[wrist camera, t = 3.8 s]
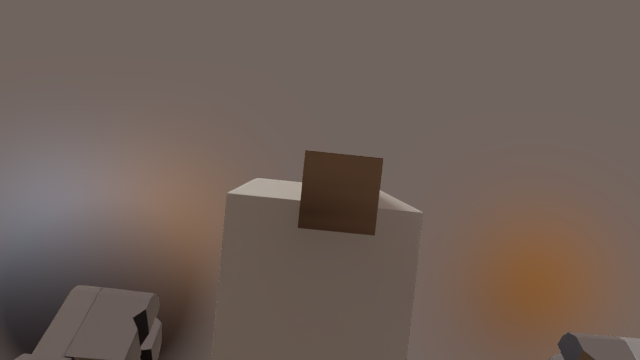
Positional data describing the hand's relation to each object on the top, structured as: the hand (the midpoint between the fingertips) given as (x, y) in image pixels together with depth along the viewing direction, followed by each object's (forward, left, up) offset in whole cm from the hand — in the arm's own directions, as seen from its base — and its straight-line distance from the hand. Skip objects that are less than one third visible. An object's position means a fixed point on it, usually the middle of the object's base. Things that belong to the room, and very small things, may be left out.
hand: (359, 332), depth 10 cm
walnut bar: (-14, +21, +1) cm, 25 cm away
